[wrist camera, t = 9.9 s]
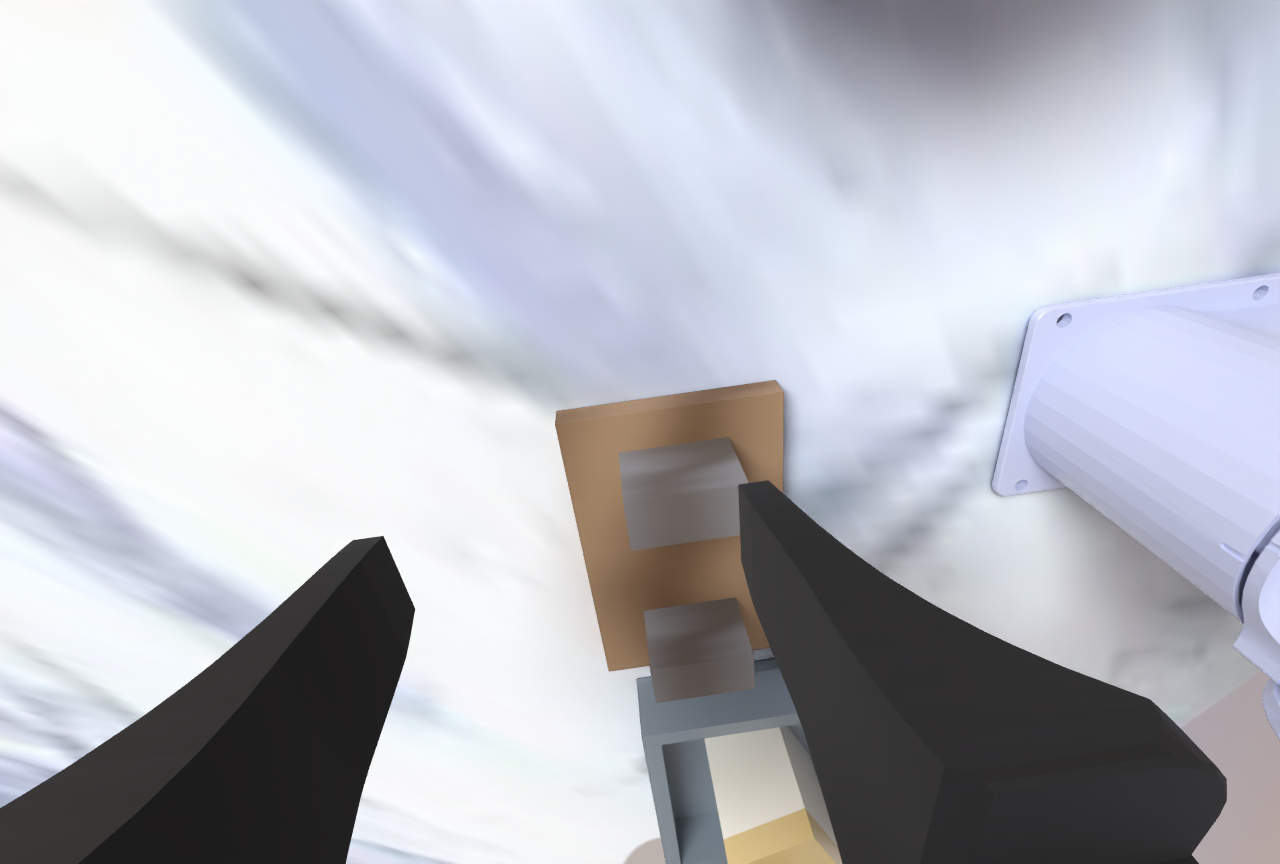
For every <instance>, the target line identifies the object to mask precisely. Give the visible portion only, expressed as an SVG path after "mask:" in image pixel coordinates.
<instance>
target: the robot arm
mask: <svg viewBox="0 0 1280 864" xmlns="http://www.w3.org/2000/svg"><path fill="white" fill-rule="evenodd" d="M1063 314H1064V316H1063V318H1062V320H1061V321H1060V322H1059V323H1057V320H1058V318H1059V317H1060V316H1061V315H1063ZM1019 481H1020V482H1019ZM1018 482H1019V483H1018ZM1016 483H1018V484H1016ZM1066 487H1068V488H1069V489H1071V490H1072V491H1073V492H1074V493H1076V494H1077V495H1078V496H1080V497H1081V498H1082V499H1083V500H1085V501H1086V502H1087V503H1089V504H1090V505H1091V506H1092V507H1094V508H1095V509H1096V510H1098V511H1099V512H1100V513H1101V514H1103V515H1104V516H1105V517H1107V518H1108V519H1109V520H1110V521H1112V522H1113V523H1114V524H1116V525H1117V526H1118V527H1120V528H1121V529H1122V530H1123V531H1125V532H1126V533H1127V534H1129V535H1130V536H1131V537H1132V538H1134V539H1135V540H1136V541H1138V542H1139V543H1140V544H1141V545H1143V546H1144V547H1145V548H1147V549H1148V550H1149V551H1150V552H1152V553H1153V554H1154V555H1156V556H1157V557H1158V558H1159V559H1161V560H1162V561H1163V562H1165V563H1166V564H1167V565H1168V566H1170V567H1171V568H1172V569H1174V570H1175V571H1176V572H1178V573H1179V574H1180V575H1181V576H1183V577H1184V578H1185V579H1187V580H1188V581H1189V582H1190V583H1192V584H1193V585H1194V586H1196V587H1197V588H1198V589H1199V590H1201V591H1202V592H1203V593H1205V594H1206V595H1207V596H1208V597H1210V598H1211V599H1212V600H1214V601H1215V602H1216V603H1217V604H1219V605H1220V606H1221V607H1223V608H1224V609H1225V610H1226V611H1228V612H1229V613H1230V614H1232V615H1233V616H1234V617H1235V618H1237V619H1238V620H1239V621H1241V622H1242V623H1243V624H1244V625H1243V628H1242V630H1241V633H1240V635H1239V636H1238V638H1237V639H1236V640H1235V642H1234V643H1233V648H1234V649H1236V650H1237V651H1238V652H1239V653H1240V654H1242V655H1243V656H1244V657H1245V658H1246V659H1248V660H1249V661H1250V662H1251V663H1253V664H1254V665H1255V666H1256V667H1257V668H1259V669H1260V670H1261V671H1262V672H1264V673H1265V674H1266V675H1267V676H1268V677H1270V679H1269V680H1268V682H1267V683H1266V686H1265V688H1264V691H1263V694H1262V695H1263V696H1262V697H1263V708H1264V711H1265V714H1266V717H1267V720H1268V722H1269V723H1270V725H1271V727H1272V729H1273V731H1274V732H1275V734H1276V736H1277V737H1278V739H1279V740H1280V273H1274V274H1267V275H1260V276H1253V277H1246V278H1239V279H1232V280H1225V281H1218V282H1211V283H1204V284H1196V285H1189V286H1182V287H1175V288H1168V289H1161V290H1154V291H1147V292H1140V293H1133V294H1126V295H1119V296H1112V297H1104V298H1097V299H1090V300H1083V301H1076V302H1069V303H1062V304H1055V305H1048V306H1044V307H1041V308H1039V309H1038V310H1037V311H1035V313H1034V314H1033V315H1032V316H1031V319H1030V321H1029V325H1028V329H1027V334H1026V338H1025V343H1024V347H1023V351H1022V356H1021V360H1020V364H1019V369H1018V373H1017V377H1016V382H1015V386H1014V391H1013V395H1012V399H1011V404H1010V408H1009V412H1008V417H1007V421H1006V425H1005V430H1004V434H1003V439H1002V443H1001V447H1000V452H999V456H998V460H997V465H996V469H995V474H994V478H993V482H992V488H993V490H994V491H995V492H996V493H997V494H998V495H1001V496H1011V495H1018V494H1025V493H1032V492H1038V491H1045V490H1052V489H1059V488H1066ZM738 493H739V519H740V545H741V562H742V566H743V570H744V574H745V577H746V581H747V585H748V588H749V592H750V595H751V599H752V602H753V606H754V608H755V611H756V613H757V616H758V618H759V621H760V623H761V626H762V628H763V631H764V633H765V635H766V638H767V640H768V643H769V645H770V648H771V650H772V653H773V655H774V657H775V660H776V662H777V665H778V667H779V670H780V672H781V674H782V677H783V679H784V682H785V684H786V687H787V689H788V691H789V694H790V696H791V699H792V701H793V704H794V706H795V709H796V712H797V714H798V717H799V720H800V723H801V725H802V728H803V731H804V735H805V738H806V741H807V744H808V748H809V751H810V754H811V758H812V761H813V764H814V767H815V771H816V774H817V777H818V780H819V784H820V787H821V791H822V794H823V798H824V801H825V804H826V808H827V811H828V815H829V818H830V822H831V825H832V828H833V832H834V835H835V839H836V842H837V846H838V849H839V853H840V857H841V860H842V864H1199V863H1198V862H1197V861H1196V860H1195V858H1194V857H1193V856H1192V855H1191V854H1192V853H1193V851H1194V850H1195V848H1196V847H1197V846H1198V844H1199V843H1200V841H1201V840H1202V839H1203V837H1204V836H1205V835H1206V833H1207V832H1208V831H1209V829H1210V828H1211V826H1212V825H1213V824H1214V822H1215V821H1216V819H1217V818H1218V817H1219V815H1220V813H1221V811H1222V809H1223V807H1224V805H1225V803H1226V800H1227V784H1226V778H1225V776H1224V775H1223V774H1222V773H1221V771H1220V770H1219V769H1218V768H1217V767H1216V765H1215V764H1214V763H1213V762H1212V761H1211V760H1210V759H1209V758H1208V757H1207V756H1206V755H1205V754H1204V753H1203V752H1202V751H1201V750H1200V749H1199V748H1198V747H1197V746H1196V744H1194V742H1193V741H1192V740H1191V739H1190V738H1189V737H1188V736H1187V735H1186V734H1185V733H1184V732H1183V731H1182V730H1181V729H1180V728H1179V727H1178V726H1177V725H1176V724H1175V723H1174V722H1173V721H1172V720H1171V719H1170V718H1169V717H1168V716H1167V715H1166V714H1165V713H1164V712H1163V711H1162V710H1161V709H1160V708H1159V707H1158V706H1157V705H1155V704H1154V703H1153V702H1152V701H1151V700H1150V699H1147V698H1145V697H1142V696H1139V695H1137V694H1134V693H1131V692H1129V691H1126V690H1123V689H1121V688H1118V687H1115V686H1113V685H1110V684H1107V683H1105V682H1102V681H1099V680H1097V679H1094V678H1091V677H1089V676H1086V675H1083V674H1081V673H1078V672H1075V671H1073V670H1070V669H1067V668H1065V667H1063V666H1060V665H1058V664H1055V663H1053V662H1051V661H1048V660H1046V659H1044V658H1041V657H1039V656H1037V655H1035V654H1032V653H1030V652H1028V651H1025V650H1023V649H1021V648H1018V647H1016V646H1014V645H1012V644H1010V643H1008V642H1005V641H1003V640H1001V639H999V638H997V637H995V636H993V635H991V634H988V633H986V632H984V631H982V630H980V629H978V628H977V627H975V626H973V625H971V624H969V623H967V622H965V621H963V620H961V619H959V618H957V617H955V616H953V615H951V614H949V613H948V612H946V611H944V610H942V609H940V608H938V607H937V606H935V605H933V604H931V603H930V602H928V601H926V600H924V599H923V598H921V597H919V596H918V595H916V594H915V593H913V592H911V591H910V590H908V589H906V588H905V587H903V586H901V585H900V584H898V583H897V582H895V581H893V580H892V579H890V578H889V577H887V576H886V575H884V574H883V573H881V572H880V571H878V570H877V569H875V568H874V567H872V566H871V565H870V564H868V563H867V562H866V561H864V560H863V559H861V558H860V557H859V556H857V555H856V554H855V553H853V552H852V551H851V550H849V549H848V548H847V547H845V546H844V545H843V544H842V543H840V542H839V541H838V540H837V539H835V538H834V537H833V536H832V535H831V534H829V533H828V532H827V531H826V530H824V529H823V528H822V527H821V526H819V525H818V524H817V523H816V522H815V521H814V520H812V519H811V518H810V517H809V516H808V515H807V514H806V513H804V512H803V511H802V510H801V509H800V508H799V507H798V506H796V505H795V504H794V503H793V502H792V501H791V500H790V499H789V498H788V497H787V496H785V495H784V494H783V493H782V492H781V491H780V490H779V489H778V488H777V487H776V486H775V485H773V484H772V483H771V482H770V481H768V480H766V481H759V482H752V483H745V484H739V485H738ZM414 612H415V608H414V605H413V603H412V601H411V598H410V596H409V594H408V592H407V589H406V587H405V585H404V582H403V580H402V578H401V575H400V573H399V571H398V569H397V566H396V564H395V562H394V559H393V557H392V555H391V553H390V550H389V548H388V546H387V543H386V541H385V539H384V537H383V536H379V537H372V538H366V539H359V540H353V541H352V542H350V543H349V544H348V545H347V546H345V547H344V548H343V549H342V550H341V551H339V552H338V553H337V554H336V555H335V556H334V557H333V558H331V559H330V560H329V561H328V562H327V563H326V564H325V565H324V566H323V567H322V568H320V569H319V570H318V571H317V572H316V573H315V574H314V575H313V576H312V577H311V578H310V579H308V580H307V581H306V582H305V583H304V584H303V585H302V586H301V587H300V588H299V589H298V590H296V591H295V592H294V593H293V594H292V595H291V596H290V597H289V598H288V599H287V600H285V601H284V602H283V603H282V604H281V605H280V606H279V607H278V608H277V609H276V610H274V611H273V612H272V613H271V614H270V615H269V616H268V617H267V618H266V619H264V620H263V621H262V622H261V623H260V624H259V625H257V626H256V627H255V628H254V629H253V630H252V631H250V632H249V633H248V634H247V635H246V636H245V637H243V638H242V639H241V640H240V641H239V642H237V643H236V644H235V645H234V646H233V647H232V648H230V649H229V650H228V651H227V652H226V653H225V654H223V655H222V656H221V657H220V658H219V659H218V660H216V661H215V662H214V663H213V664H211V665H210V666H209V667H208V668H206V669H205V670H204V671H203V672H201V673H200V674H199V675H198V676H196V677H195V678H194V679H192V680H191V681H190V682H189V683H187V684H186V685H185V686H183V687H182V688H181V689H179V690H178V691H177V692H175V693H174V694H173V695H171V696H170V697H169V698H167V699H166V700H165V701H163V702H162V703H161V704H159V705H158V706H157V707H155V708H154V709H153V710H151V711H150V712H148V713H147V714H146V715H144V716H143V717H141V718H140V719H139V720H137V721H136V722H134V723H133V724H131V725H130V726H128V727H127V728H125V729H124V730H122V731H121V732H119V733H118V734H116V735H115V736H113V737H112V738H110V739H109V740H107V741H106V742H104V743H103V744H101V745H100V746H98V747H97V748H95V749H94V750H92V751H91V752H89V753H88V754H86V755H85V756H84V757H82V758H81V759H79V760H78V761H76V762H75V763H73V764H72V765H70V766H68V767H67V768H65V769H64V770H62V771H61V772H59V773H57V774H56V775H54V776H53V777H51V778H49V779H48V780H46V781H44V782H43V783H41V784H40V785H38V786H36V787H35V788H33V789H32V790H30V791H28V792H27V793H25V794H23V795H22V796H20V797H18V798H17V799H15V800H13V801H12V802H10V803H8V804H7V805H5V806H3V807H2V808H0V864H346V859H347V854H348V850H349V845H350V841H351V837H352V833H353V828H354V824H355V820H356V815H357V811H358V807H359V802H360V798H361V794H362V791H363V787H364V784H365V780H366V777H367V774H368V770H369V767H370V764H371V761H372V758H373V755H374V752H375V749H376V746H377V743H378V740H379V737H380V734H381V731H382V728H383V726H384V723H385V720H386V717H387V714H388V711H389V708H390V705H391V702H392V699H393V696H394V693H395V690H396V687H397V684H398V681H399V678H400V675H401V672H402V668H403V665H404V662H405V659H406V655H407V650H408V645H409V641H410V636H411V630H412V624H413V618H414Z"/></svg>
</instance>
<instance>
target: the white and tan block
mask: <svg viewBox="0 0 1280 864" xmlns="http://www.w3.org/2000/svg"><path fill="white" fill-rule="evenodd" d="M704 740H705V745H706V750H707V756H708V761H709V766H710V771H711V777H712V782H713V787H714V793H715V798H716V803H717V808H718V814H719V819H720V824H721V830H722V835H723V840H724V845H725V851H726V856H727V861H728V864H842V860H841V857H840V853H839V849H838V846H837V842H836V839H835V835H834V832H833V828H832V825H831V822H830V818H829V815H828V811H827V808H826V804H825V801H824V798H823V794H822V791H821V787H820V784H819V781H818V779H817V776H816V773H815V770H814V767H813V764H812V761H811V758H810V756H809V754H808V753H807V751H806V750H805V749H804V747H803V746H802V745H801V744H800V742H799V741H798V740H797V738H796V737H795V736H794V734H793V733H792V732H791V730H790V729H789V728H788V727H787V726H784V727H777V728H771V729H764V730H757V731H751V732H744V733H738V734H731V735H724V736H718V737H711V738H705V739H704Z"/></svg>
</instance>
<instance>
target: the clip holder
mask: <svg viewBox="0 0 1280 864" xmlns="http://www.w3.org/2000/svg"><path fill="white" fill-rule="evenodd" d="M783 413H784V392H783V390H782V389H781V387H780V386H779V385H778V383H777V382H776V380H773V381H766V382H759V383H752V384H744V385H737V386H730V387H723V388H716V389H709V390H702V391H695V392H688V393H681V394H674V395H667V396H660V397H653V398H646V399H639V400H632V401H625V402H618V403H611V404H604V405H597V406H590V407H583V408H576V409H569V410H562V411H556V421H555V426H556V431H557V435H558V440H559V444H560V449H561V454H562V458H563V463H564V467H565V472H566V477H567V481H568V486H569V490H570V495H571V500H572V504H573V509H574V513H575V518H576V523H577V527H578V532H579V536H580V541H581V546H582V550H583V555H584V559H585V564H586V569H587V573H588V578H589V582H590V587H591V591H592V596H593V601H594V605H595V610H596V614H597V619H598V624H599V628H600V633H601V637H602V642H603V647H604V651H605V656H606V660H607V665H608V670H609V671H616V670H623V669H629V668H636V667H643V666H650V671H651V677H652V683H653V689H654V695H655V701H656V703H662V702H669V701H675V700H682V699H689V698H695V697H702V696H709V695H715V694H722V693H729V692H735V691H742V690H749V689H755V679H754V654H753V651H752V650H757V649H764V648H770V645H769V643H768V640H767V638H766V635H765V633H764V631H763V628H762V626H761V623H760V621H759V618H758V616H757V613H756V611H755V608H754V606H753V602H752V599H751V595H750V592H749V588H748V585H747V581H746V577H745V574H744V570H743V566H742V562H741V545H740V519H739V493H738V485H739V484H745V483H752V482H759V481H766V480H768V481H770V482H771V483H772V484H773V485H775V486H776V487H777V488H778V489H779V490H780V491H781V492H782V493H783Z"/></svg>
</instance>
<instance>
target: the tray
mask: <svg viewBox="0 0 1280 864" xmlns="http://www.w3.org/2000/svg"><path fill="white" fill-rule="evenodd" d="M754 679H755V689H749V690H742V691H735V692H729V693H722V694H715V695H709V696H702V697H695V698H689V699H682V700H675V701H669V702H662V703H656V701H655V695H654V689H653V683H652V677H647V678H640V679H637V690H638V701H639V712H640V723H641V735H642V741H643V746H644V752H645V757H646V762H647V767H648V773H649V778H650V783H651V788H652V794H653V799H654V804H655V809H656V814H657V820H658V825H659V830H660V835H661V841H662V846H663V851H664V856H665V862H666V864H728V861H727V856H726V851H725V845H724V840H723V835H722V830H721V824H720V819H719V814H718V808H717V803H716V798H715V793H714V787H713V782H712V777H711V771H710V766H709V761H708V756H707V750H706V745H705V740H704V739H705V738H711V737H718V736H724V735H731V734H738V733H744V732H751V731H757V730H764V729H771V728H777V727H784V726H787V727H788V728H789V729H790V730H791V732H792V733H793V734H794V736H795V737H796V738H797V740H798V741H799V742H800V744H801V745H802V746H803V747H804V749H805V750H806V751H807V753H808V754H809V756H810V758H811V754H810V751H809V748H808V744H807V741H806V738H805V735H804V731H803V728H802V725H801V723H800V720H799V717H798V714H797V712H796V709H795V706H794V704H793V701H792V699H791V696H790V694H789V691H788V689H787V687H786V684H785V682H784V679H783V677H782V674H781V672H780V670H779V667H778V665H777V662H776V660H775V658H774V659H767V660H760V661H754ZM811 761H812V758H811ZM812 764H813V761H812ZM813 767H814V764H813ZM814 770H815V767H814ZM815 773H816V771H815ZM816 776H817V774H816ZM817 779H818V777H817ZM818 781H819V780H818Z"/></svg>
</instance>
